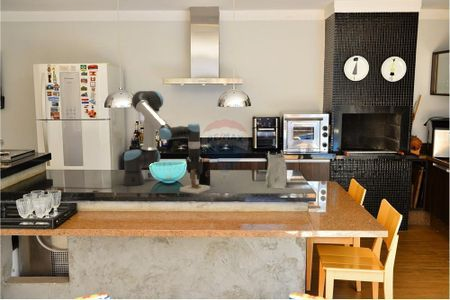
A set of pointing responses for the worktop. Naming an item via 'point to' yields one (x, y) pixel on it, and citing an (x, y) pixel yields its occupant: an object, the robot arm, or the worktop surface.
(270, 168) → the grocery bag
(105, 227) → the worktop surface
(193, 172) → the wooden wedge
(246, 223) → the worktop surface
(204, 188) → the candle dish
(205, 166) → the coffee jar
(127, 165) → the robot arm
